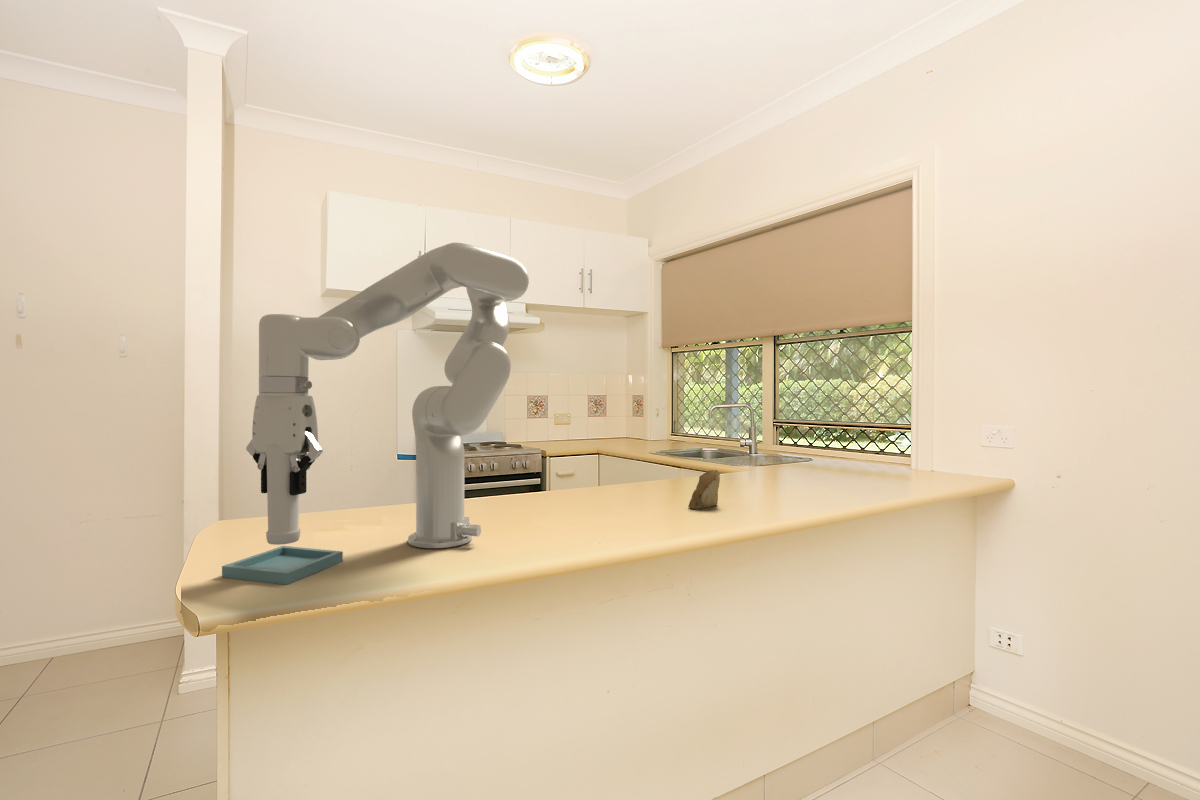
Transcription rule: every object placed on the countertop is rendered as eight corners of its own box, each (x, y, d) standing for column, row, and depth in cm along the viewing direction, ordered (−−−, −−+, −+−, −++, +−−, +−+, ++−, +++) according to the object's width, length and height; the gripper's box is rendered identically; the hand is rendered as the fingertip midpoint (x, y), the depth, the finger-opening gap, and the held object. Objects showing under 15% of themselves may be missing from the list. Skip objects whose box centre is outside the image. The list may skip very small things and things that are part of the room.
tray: (342, 561, 107) (342, 551, 107) (287, 584, 95) (287, 573, 95) (283, 555, 111) (283, 545, 111) (222, 577, 98) (221, 566, 98)
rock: (695, 503, 151) (730, 496, 154) (683, 474, 156) (717, 467, 159) (684, 520, 160) (717, 513, 163) (673, 492, 164) (705, 486, 167)
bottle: (265, 546, 99) (265, 396, 98) (266, 539, 103) (266, 395, 103) (300, 542, 101) (300, 396, 101) (300, 535, 106) (300, 395, 105)
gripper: (341, 388, 103) (340, 492, 104) (261, 386, 108) (261, 486, 108) (309, 388, 96) (309, 500, 96) (225, 386, 100) (225, 493, 101)
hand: (283, 491), depth 102 cm, fingers closed on bottle, 5 cm apart
